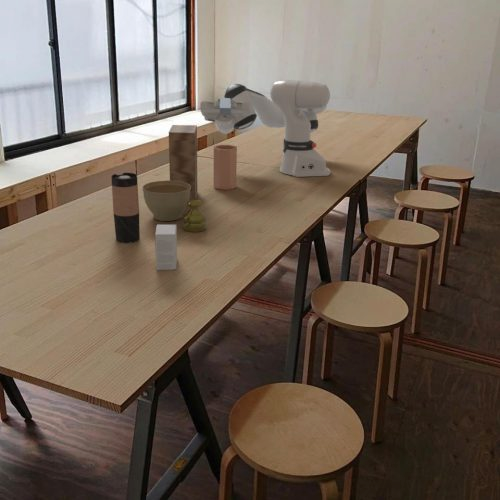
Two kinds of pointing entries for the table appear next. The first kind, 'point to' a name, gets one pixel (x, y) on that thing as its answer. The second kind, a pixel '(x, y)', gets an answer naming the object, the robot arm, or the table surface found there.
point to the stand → (184, 155)
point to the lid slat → (225, 106)
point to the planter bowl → (167, 199)
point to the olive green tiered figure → (194, 217)
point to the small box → (166, 247)
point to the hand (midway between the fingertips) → (225, 100)
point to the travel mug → (126, 207)
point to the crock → (225, 167)
